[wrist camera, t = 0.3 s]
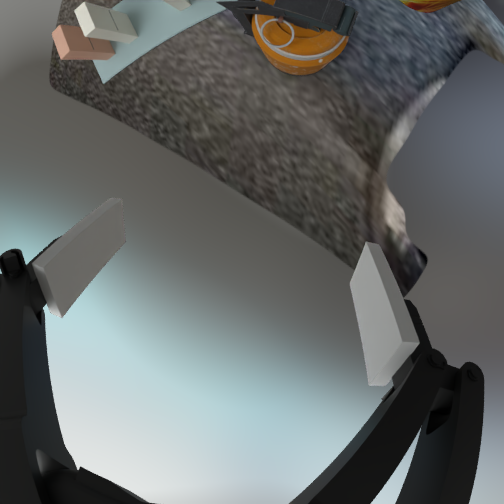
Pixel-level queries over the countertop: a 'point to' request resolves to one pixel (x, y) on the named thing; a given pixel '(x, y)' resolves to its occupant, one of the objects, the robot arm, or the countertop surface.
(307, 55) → the canister
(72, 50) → the end domino
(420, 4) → the mug
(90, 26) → the domino
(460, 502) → the robot arm
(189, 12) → the mat
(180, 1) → the domino
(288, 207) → the countertop surface
